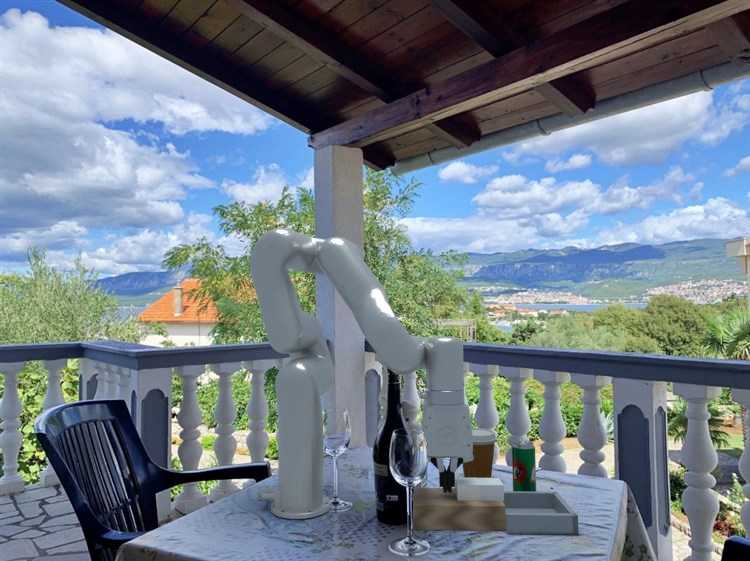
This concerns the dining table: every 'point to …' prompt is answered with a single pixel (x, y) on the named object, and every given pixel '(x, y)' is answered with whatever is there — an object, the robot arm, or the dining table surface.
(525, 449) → the soda can
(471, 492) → the tile
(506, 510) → the tray
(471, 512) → the wooden base board
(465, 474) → the disposable coffee cup
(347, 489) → the dining table surface
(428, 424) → the robot arm
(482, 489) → the tile
